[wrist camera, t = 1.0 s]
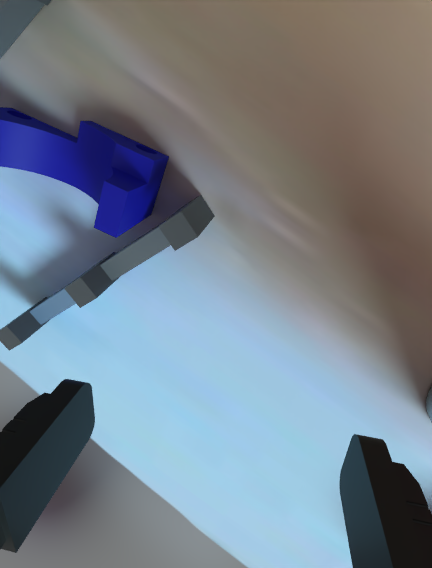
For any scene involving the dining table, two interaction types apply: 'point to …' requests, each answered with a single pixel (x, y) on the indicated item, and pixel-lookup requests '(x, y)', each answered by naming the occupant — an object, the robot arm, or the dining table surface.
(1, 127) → the blue curved block
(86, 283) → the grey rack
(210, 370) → the dining table surface
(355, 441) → the robot arm
